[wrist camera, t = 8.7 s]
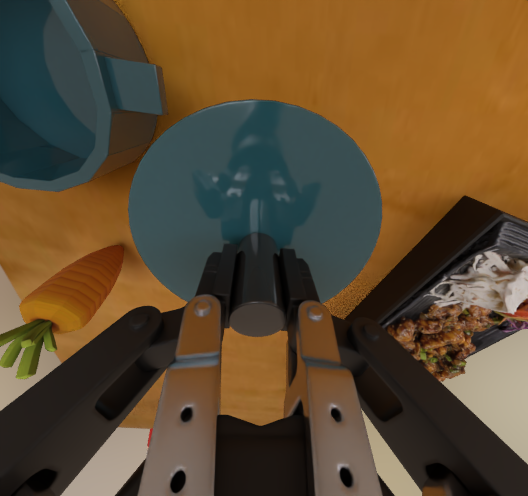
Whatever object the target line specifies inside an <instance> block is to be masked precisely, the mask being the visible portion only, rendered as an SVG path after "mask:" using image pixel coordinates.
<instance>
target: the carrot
mask: <svg viewBox="0 0 528 496" xmlns="http://www.w3.org/2000/svg"><path fill="white" fill-rule="evenodd" d="M123 254H124V249H123V247H122V246H119V245H115V246H110V247H107V248H104V249H101V250H98V251H96V252H93V253H90V254H88V255H86V256H84V257H83V258H81V259H79V260H77V261H75V262H74V263H72V264H70V265H69V266H67V267H65V268H63V269H62V270H61V271H59V272H58V273H57V274H55V275H54V276H53V277H51V278H50V279H49V280H47V281H46V282H45V283H43V284H42V285H41V286H40V287H38V288H37V289H36V290H35V291H33V292H32V293H31V294H29V295H28V296H27V297H26V298H25V299H24V300H23V301H22V302H21V304H20V306H19V307H20V312H21V315H22V317H23V320H24V322H25V323H26V324H25V325H23V326H20V327H18V328H15V329H13V330H11V331H8V332H6V333H3V334H1V335H0V347H1V346H2V345H4V344H6V343H8V342H10V341H12V340H14V339H15V340H14V341H13V342H12V343H11V344H10V345H9V347H8V349H7V350H6V352H5V353H4V355H3V357H2V358H1V360H0V366H2V367H4V368H8V367H12V366H13V364H14V362H15V360H16V358H17V357H18V355H19V353H20V351H21V349H22V348H25V347H26V349H25V351H24V353H23V356H22V358H21V362H20V364H19V367H18V371H17V375H16V378H18V379H27V378H28V377H30V376H33V375H35V374H36V370H37V366H38V362H39V357H40V352H41V348H42V345H43V342H44V344H45V349H46V350H47V351H51V352H54V351H56V350H57V346H56V342H55V339H54V335H53V333H54V334H64V333H68V332H71V331H75V330H78V329H81V328H83V327H84V326H85V325H86V324H87V323H88V322H89V321H90V320H91V318H92V317H93V316H94V314H95V313H96V311H97V310H98V309H99V307H100V306H101V305H102V303H103V302H104V300H105V299H106V297H107V296H108V295H109V293H110V292H111V290H112V288H113V286H114V284H115V282H116V280H117V278H118V276H119V273H120V271H121V268H122V263H123Z"/></svg>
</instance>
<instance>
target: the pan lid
mask: <svg viewBox="0 0 528 496" xmlns="http://www.w3.org/2000/svg"><path fill="white" fill-rule="evenodd" d="M128 213H129V225H130V229H131V233H132V237H133V240H134V243H135V245H136V248H137V250H138V252H139V254H140V256H141V258H142V259H143V261H144V263H145V264H146V266H147V267H148V268H149V270H150V271H151V272H152V274H153V275H154V276H155V277H156V278H157V279H158V280H159V281H160V282H161V283H162V284H163V285H164V286H165V287H166V288H168V289H169V290H170V291H171V292H172V293H174V294H175V295H177V296H178V297H180V298H181V299H183V300H185V301H187V302H189V301H190V300H191V299H192V298H194V297H195V295H196V292H197V288H198V285H199V282H200V279H201V276H202V273H203V270H204V267H205V264H206V261H207V258H208V257H209V256H210V255H211V254H212V253H213V252H221V253H222V250H223V246H224V244H237V245H238V251H237V260H236V268H235V275H234V282H233V289H232V297H231V304H230V310H229V315H228V321H229V324H230V326H231V327H232V329H234V330H235V331H236V332H238V333H240V334H243V335H246V336H251V337H263V336H268V335H272V334H274V333H276V332H278V331H280V330H281V329H282V328H283V327H284V326H285V324H286V322H287V313H286V306H285V298H284V291H283V284H282V277H281V269H280V262H279V253H280V249H281V248H287V249H294V250H295V253H296V257H297V258H301V259H304V261H305V262H306V263H307V264H308V265H309V268H310V271H311V275H312V278H313V281H314V284H315V287H316V290H317V293H318V297H319V300H320V302H321V304H322V303H324V302H326V301H327V300H329V299H331V298H332V297H334V296H335V295H337V294H338V293H339V292H341V291H342V290H343V289H344V288H346V287H347V286H348V285H349V284H350V283H351V282H352V281H353V280H354V279H355V278H356V277H357V275H358V274H359V273H360V272H361V270H362V269H363V268H364V266H365V265H366V263H367V262H368V260H369V258H370V257H371V254H372V252H373V250H374V248H375V246H376V243H377V240H378V236H379V233H380V228H381V221H382V200H381V194H380V188H379V184H378V181H377V178H376V175H375V173H374V170H373V168H372V166H371V165H370V163H369V161H368V159H367V157H366V155H365V154H364V153H363V151H362V150H361V149H360V148H359V146H358V145H357V144H356V143H355V141H354V140H353V139H352V138H351V137H349V136H348V135H347V134H346V133H345V132H344V131H343V130H342V129H340V128H339V127H338V126H337V125H335V124H334V123H332V122H330V121H329V120H327V119H326V118H324V117H322V116H321V115H319V114H317V113H314V112H312V111H309V110H307V109H304V108H302V107H300V106H296V105H292V104H287V103H283V102H279V101H272V100H256V99H249V100H239V101H229V102H224V103H221V104H217V105H214V106H210V107H206V108H204V109H201V110H199V111H197V112H195V113H193V114H191V115H189V116H186V117H184V118H183V119H181V120H180V121H179V122H177V123H176V124H174V125H173V126H171V127H170V128H169V129H167V130H166V131H165V132H164V133H163V134H162V135H161V136H160V137H159V138H158V139H157V140H156V141H155V142H154V143H153V144H152V145H151V147H150V148H149V150H148V151H147V152H146V154H145V155H144V157H143V158H142V160H141V162H140V164H139V166H138V168H137V170H136V173H135V175H134V177H133V181H132V185H131V189H130V193H129V205H128Z"/></svg>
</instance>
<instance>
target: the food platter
mask: <svg viewBox="0 0 528 496" xmlns="http://www.w3.org/2000/svg"><path fill="white" fill-rule="evenodd" d="M358 317H366V318H369V319H372V320H374V321H375V322H377V323H378V324H379V325H381V326H382V327H383V328H384V329H385V330H386V331H387V332H388V333H389V334H390V335H391V336H392V337H393V338H394V339H395V340H396V341H397V342H399V343H400V344H401V345H402V346H403V347H404V348H405V349H406V350H407V351H408V352H409V353H410V354H411V355H412V356H413V357H414V358H415V359H417V360H418V361H419V362H420V363H421V364H422V365H423V366H424V367H425V368H426V369H427V370H428V371H429V372H430V373H431V374H432V375H433V376H435V377H436V378H437V379H438V380H439V381H444V380H445V378H449V379H451V378H453V377H455V376H458V375H460V374H465V370H464V367H465V365H466V361H465V360H464V359H466V358H467V357H469V356H471V355H473V354H475V353H477V352H479V351H481V350H483V349H485V348H487V347H489V346H490V345H492V344H494V343H496V342H498V341H500V340H502V339H504V338H506V337H508V336H510V335H512V334H514V333H516V332H517V331H520V330H522V329H528V222H527V221H524V220H522V219H520V218H517V217H515V216H513V215H510V214H508V213H506V212H503V211H501V210H498V209H496V208H494V207H491V206H489V205H487V204H484V203H482V202H480V201H477V200H475V199H472V198H470V197H468V196H464V197H463V198H462V199H461V200H460V201H459V202H458V203H457V204H456V205H455V206H454V207H453V208H452V209H451V210H450V211H449V212H448V213H447V214H446V215H445V216H444V217H443V218H442V219H441V221H440V222H439V223H438V224H437V225H436V226H435V227H434V228H433V229H432V230H431V231H430V232H429V233H428V234H427V235H426V236H425V237H424V238H423V239H422V240H421V241H420V242H419V243H418V244H417V245H416V246H415V247H414V248H413V249H412V250H411V251H410V252H409V253H408V254H407V256H406V257H405V258H404V259H403V260H402V261H401V262H400V263H399V264H398V265H397V266H396V267H395V268H394V269H393V270H392V271H391V272H390V273H389V274H388V275H387V276H386V277H385V278H384V279H383V280H382V281H381V282H380V283H379V284H378V285H377V286H376V287H375V288H374V289H373V291H372V292H371V293H370V294H369V295H368V296H367V297H366V298H365V299H364V300H363V301H362V302H361V303H360V304H359V305H358V306H357V307H356V308H355V309H354V310H353V311H352V312H351V313H350V314H349V315H348V316H347V317H346V318H345V319H344V320H346V321H349V322H353V321H354V320H355V319H356V318H358Z"/></svg>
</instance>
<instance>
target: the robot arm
mask: <svg viewBox="0 0 528 496" xmlns="http://www.w3.org/2000/svg"><path fill="white" fill-rule="evenodd" d="M237 251H238V245H237V244H224V246H223V250H222V253H221V252H213V253H212V254H211V255H210V256H209V257H208V258H207V261H206V264H205V267H204V270H203V273H202V276H201V279H200V282H199V285H198V288H197V292H196V295H195V297H194V298H192V299H191V300H190V301H189V302H188V303H187V304H186V306H184V307H182V308H180V309H176V310H172V311H168V312H163V313H161V312H160V311H159V310H158V309H157V308H155V307H153V306H142V307H138V308H135V309H133V310H131V311H129V312H128V313H126V314H125V315H124V316H123V317H121V318H120V319H119V320H117V321H116V322H115V323H114V324H112V325H111V326H110V327H108V328H107V329H106V330H104V331H103V332H102V333H101V334H99V335H98V336H97V337H95V338H94V339H93V340H92V341H90V342H89V343H88V344H86V345H85V346H84V347H83V348H81V349H80V350H79V351H77V352H76V353H75V354H74V355H72V356H71V357H70V358H68V359H67V360H66V361H64V362H63V363H62V364H61V365H60V366H58V367H57V368H55V369H54V370H53V371H52V372H50V373H49V374H48V375H46V376H45V377H44V378H43V379H41V380H40V381H39V382H37V383H36V384H35V385H34V386H32V387H31V388H30V389H28V390H27V391H26V392H25V393H23V394H22V395H21V396H19V397H18V398H17V399H15V400H14V401H13V402H12V403H10V404H9V405H8V406H6V407H5V408H4V409H3V410H1V411H0V496H60V495H61V494H62V493H63V492H64V490H65V489H66V488H67V487H68V486H69V484H70V483H71V482H72V481H73V480H74V479H75V477H76V476H77V475H78V474H79V473H80V471H81V470H82V469H83V468H84V467H85V465H86V464H87V463H88V462H89V461H90V459H91V458H92V457H93V456H94V455H95V453H96V452H97V451H98V450H99V449H100V447H101V446H102V445H103V444H104V443H105V442H106V440H107V439H108V438H109V437H110V436H111V434H112V433H113V432H114V431H115V430H116V428H117V427H118V426H119V425H120V424H121V422H122V421H123V420H124V419H125V418H126V416H127V415H128V414H129V413H130V412H131V410H132V409H133V408H134V407H135V406H136V405H137V403H138V402H139V401H140V400H141V399H142V397H143V396H144V395H145V394H146V393H147V391H148V390H149V389H150V388H151V387H152V385H153V384H154V383H155V382H156V381H157V379H158V378H159V377H160V376H161V375H162V374H163V372H164V371H165V370H166V369H167V370H166V374H165V378H164V382H163V387H162V391H161V396H160V400H159V404H158V409H157V413H156V417H155V422H154V426H153V431H152V435H151V439H150V444H149V448H148V452H147V457H146V459H145V460H144V461H143V462H142V464H141V465H140V466H139V467H138V468H137V470H136V471H135V472H134V473H133V475H132V476H131V477H130V478H129V479H128V481H127V482H126V483H125V484H124V485H123V487H122V488H121V489H120V490H119V491H118V493H117V494H116V495H115V496H394V494H393V493H392V492H391V490H390V489H389V488H388V486H387V485H386V484H385V483H384V481H383V480H382V479H381V478H380V476H379V475H378V474H377V471H376V467H375V463H374V459H373V455H372V451H371V447H370V443H369V439H368V435H367V431H366V427H365V423H364V419H363V415H362V411H361V409H362V410H363V411H364V413H365V414H366V415H367V417H368V418H369V419H370V421H371V422H372V424H373V425H374V426H375V428H376V429H377V431H378V432H379V433H380V435H381V436H382V438H383V439H384V440H385V442H386V443H387V444H388V446H389V447H390V449H391V450H392V451H393V453H394V454H395V455H396V457H397V458H398V459H399V461H400V462H401V464H402V465H403V467H404V468H405V469H406V471H407V472H408V473H409V475H410V476H411V477H412V479H413V480H414V482H415V483H416V484H417V486H418V487H419V489H420V490H421V491H422V496H528V464H527V463H526V462H524V461H523V460H522V459H521V458H520V457H519V456H518V455H517V454H516V453H515V452H514V451H513V450H512V449H511V448H510V447H509V446H508V445H507V444H505V443H504V442H503V441H502V440H501V439H500V438H499V437H498V436H497V435H496V434H495V433H494V432H493V431H492V430H491V429H490V428H488V427H487V426H486V425H485V424H484V423H483V422H482V421H481V420H480V419H479V418H478V417H477V416H476V415H475V414H474V413H473V412H472V411H470V410H469V409H468V408H467V407H466V406H465V405H464V404H463V403H462V402H461V401H460V400H459V399H458V398H457V397H456V396H455V395H453V393H451V392H450V391H449V390H448V389H447V388H446V387H445V386H444V385H443V384H442V383H441V382H440V381H439V380H438V379H437V378H436V377H435V376H433V375H432V374H431V373H430V372H429V371H428V370H427V369H426V368H425V367H424V366H423V365H422V364H421V363H420V362H419V361H418V360H417V359H415V358H414V357H413V356H412V355H411V354H410V353H409V352H408V351H407V350H406V349H405V348H404V347H403V346H402V345H401V344H400V343H399V342H397V341H396V340H395V339H394V338H393V337H392V336H391V335H390V334H389V333H388V332H387V331H386V330H385V329H384V328H383V327H382V326H381V325H379V324H378V323H377V322H375V321H374V320H372V319H369V318H366V317H358V318H356V319H355V320H354V321H353V322H349V321H346V320H343V319H340V318H337V317H335V316H333V315H331V313H330V311H329V310H328V309H327V308H326V306H324V305H323V304H321V302H320V300H319V297H318V293H317V290H316V287H315V284H314V281H313V278H312V275H311V271H310V268H309V265H308V264H307V263H306V262H305V261H304V259H301V258H297V257H296V253H295V250H294V249H287V248H281V249H280V253H279V262H280V269H281V277H282V284H283V291H284V298H285V306H286V313H287V322H286V324H285V326H284V327H283V328H282V329H281V331H287V332H288V340H287V344H286V394H285V400H284V418H283V419H280V420H277V421H275V422H272V423H269V424H266V425H263V426H258V425H255V424H252V423H249V422H247V421H244V420H241V419H238V418H235V417H232V416H230V415H220V406H221V352H222V340H223V335H224V328H229V327H230V324H229V321H228V315H229V310H230V304H231V297H232V289H233V282H234V275H235V268H236V260H237ZM332 417H333V418H332Z"/></svg>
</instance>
